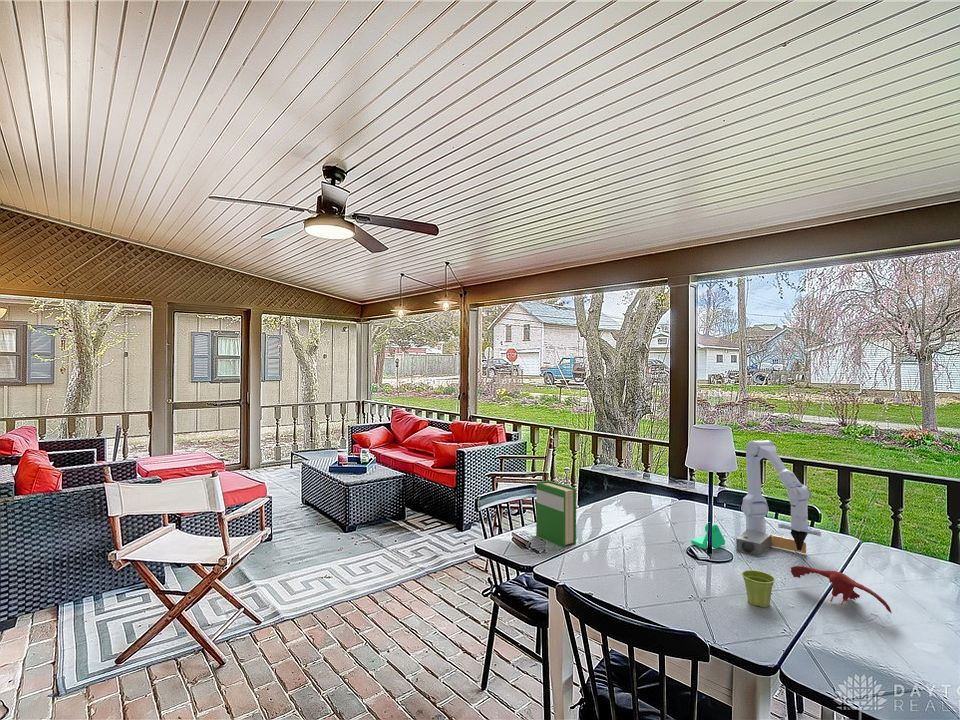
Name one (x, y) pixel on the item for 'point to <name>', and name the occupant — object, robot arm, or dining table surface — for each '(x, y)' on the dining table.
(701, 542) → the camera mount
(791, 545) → the tan piece
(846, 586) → the red toy dinosaur
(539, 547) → the dining table surface
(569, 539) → the hardback book
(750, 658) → the dining table surface
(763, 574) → the plant pot
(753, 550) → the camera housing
